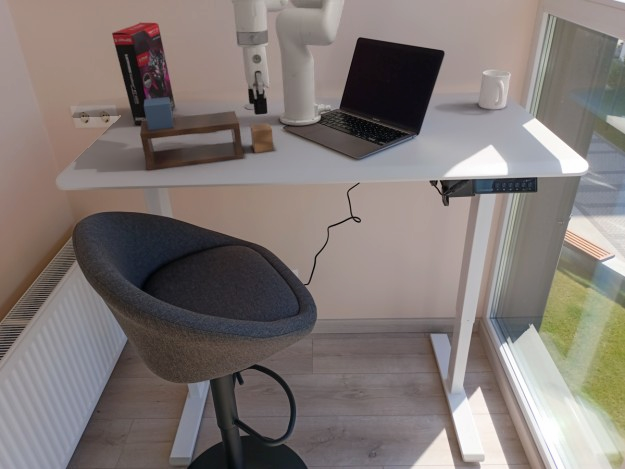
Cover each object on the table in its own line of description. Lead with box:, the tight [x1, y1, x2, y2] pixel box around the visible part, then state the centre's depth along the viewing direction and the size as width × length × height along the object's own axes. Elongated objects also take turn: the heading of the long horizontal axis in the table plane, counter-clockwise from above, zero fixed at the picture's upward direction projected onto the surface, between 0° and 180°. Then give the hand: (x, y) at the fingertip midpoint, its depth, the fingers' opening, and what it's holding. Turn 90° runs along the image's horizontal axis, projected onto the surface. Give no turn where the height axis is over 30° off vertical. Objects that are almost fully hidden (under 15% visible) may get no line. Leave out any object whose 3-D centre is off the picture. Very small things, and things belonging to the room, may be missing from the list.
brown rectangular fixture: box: [139, 110, 244, 171], centre depth 131 cm, size 24×10×10 cm, turn 104°
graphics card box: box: [111, 21, 176, 126], centre depth 156 cm, size 17×7×27 cm, turn 168°
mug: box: [478, 69, 512, 111], centre depth 157 cm, size 12×8×10 cm
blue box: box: [144, 97, 174, 130], centre depth 126 cm, size 6×6×6 cm
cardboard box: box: [249, 122, 274, 154], centre depth 135 cm, size 5×5×6 cm
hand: (258, 108), depth 131 cm, fingers open, 9 cm apart
